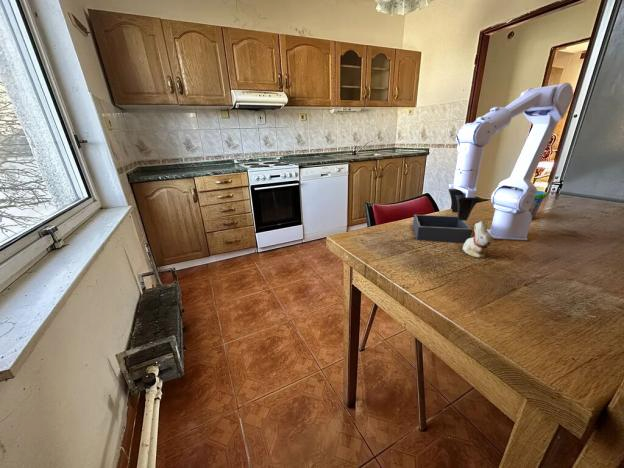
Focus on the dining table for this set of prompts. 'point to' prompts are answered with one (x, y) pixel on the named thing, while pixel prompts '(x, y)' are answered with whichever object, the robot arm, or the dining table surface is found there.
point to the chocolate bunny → (478, 241)
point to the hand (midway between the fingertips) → (458, 215)
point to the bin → (441, 228)
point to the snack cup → (536, 202)
